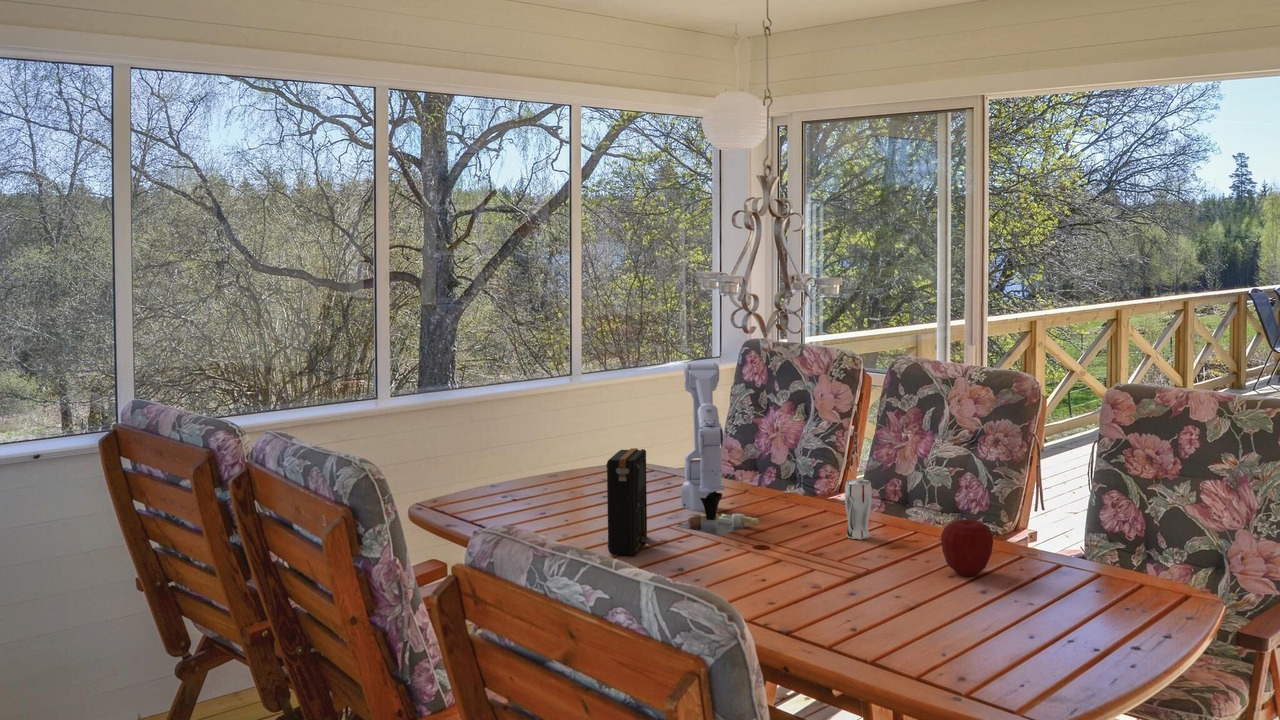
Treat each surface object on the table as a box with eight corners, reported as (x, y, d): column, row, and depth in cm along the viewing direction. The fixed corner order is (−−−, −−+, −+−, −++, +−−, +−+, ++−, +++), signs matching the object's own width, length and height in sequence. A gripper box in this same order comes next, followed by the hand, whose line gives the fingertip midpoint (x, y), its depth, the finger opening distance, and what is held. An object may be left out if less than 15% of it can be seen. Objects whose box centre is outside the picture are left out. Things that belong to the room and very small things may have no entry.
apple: (952, 562, 249) (953, 509, 248) (999, 571, 242) (1001, 516, 241) (932, 574, 240) (933, 519, 239) (980, 584, 233) (982, 527, 231)
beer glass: (841, 538, 271) (841, 483, 270) (848, 532, 277) (849, 478, 276) (867, 541, 268) (867, 485, 267) (874, 535, 274) (874, 480, 273)
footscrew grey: (728, 525, 281) (728, 514, 281) (737, 523, 283) (737, 511, 283) (754, 531, 275) (754, 519, 274) (762, 529, 277) (762, 517, 277)
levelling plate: (676, 530, 281) (676, 526, 281) (706, 520, 292) (706, 516, 292) (720, 540, 271) (720, 535, 271) (750, 529, 282) (750, 524, 282)
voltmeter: (639, 557, 256) (637, 459, 254) (605, 556, 258) (604, 458, 255) (650, 540, 271) (649, 448, 269) (619, 539, 273) (617, 447, 271)
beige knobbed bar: (690, 528, 278) (690, 516, 278) (685, 525, 282) (685, 513, 281) (720, 525, 281) (720, 513, 281) (715, 522, 285) (715, 510, 284)
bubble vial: (717, 521, 285) (717, 514, 285) (722, 520, 287) (722, 512, 287) (729, 524, 283) (729, 516, 283) (734, 522, 285) (734, 514, 284)
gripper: (715, 475, 271) (716, 526, 272) (733, 467, 284) (733, 515, 285) (690, 473, 274) (691, 524, 275) (709, 465, 287) (709, 513, 288)
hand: (711, 519), depth 280 cm, fingers closed, pressing on beige knobbed bar
